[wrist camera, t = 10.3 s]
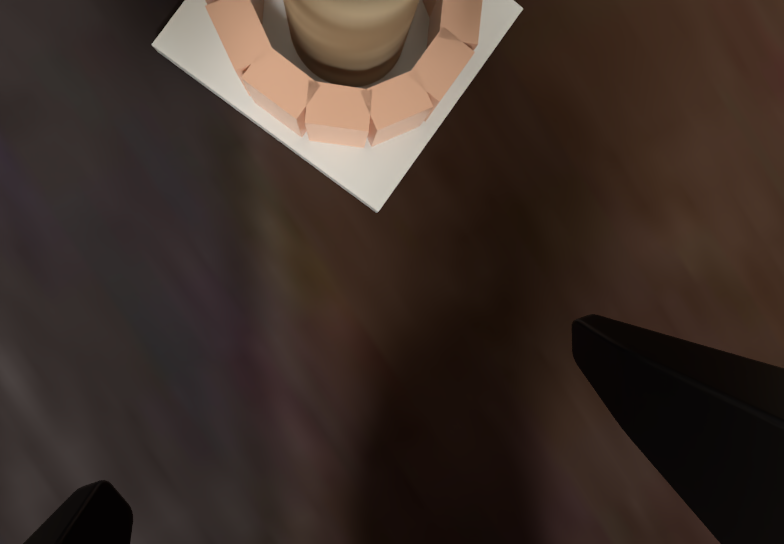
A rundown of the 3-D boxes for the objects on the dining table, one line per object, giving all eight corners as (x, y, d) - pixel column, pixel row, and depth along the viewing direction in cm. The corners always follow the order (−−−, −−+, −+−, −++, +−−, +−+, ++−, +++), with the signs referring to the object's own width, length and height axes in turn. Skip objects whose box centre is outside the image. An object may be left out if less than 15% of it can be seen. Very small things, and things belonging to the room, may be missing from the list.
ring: (517, 16, 19) (552, -29, 16) (376, 213, 18) (385, 205, 15) (315, -160, 17) (311, -248, 14) (157, 52, 17) (118, 8, 14)
